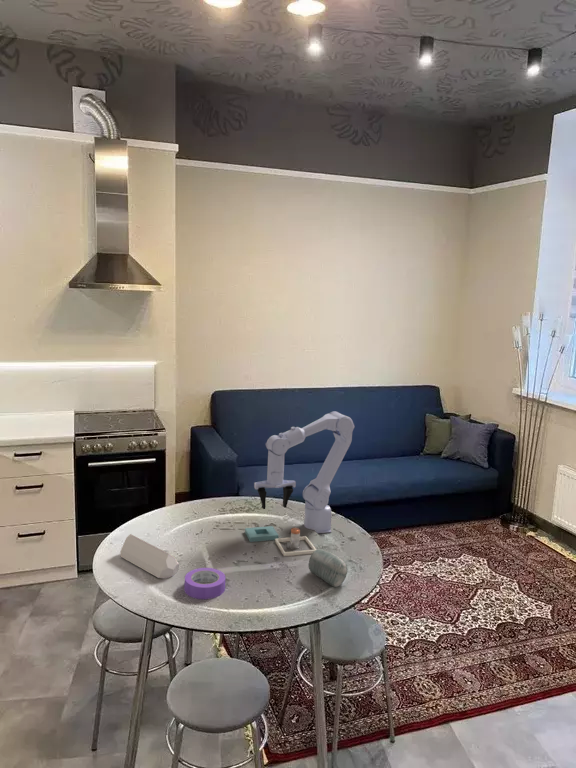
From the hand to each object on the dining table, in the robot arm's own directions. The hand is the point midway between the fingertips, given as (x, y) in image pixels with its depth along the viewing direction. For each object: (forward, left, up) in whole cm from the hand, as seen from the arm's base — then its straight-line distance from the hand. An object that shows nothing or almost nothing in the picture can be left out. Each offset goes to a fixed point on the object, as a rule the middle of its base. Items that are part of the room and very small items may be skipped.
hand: (274, 507), depth 206 cm
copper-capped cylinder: (-4, +14, -10) cm, 17 cm away
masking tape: (+29, +32, -11) cm, 45 cm away
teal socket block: (+5, +3, -10) cm, 12 cm away
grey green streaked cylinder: (-8, +34, -11) cm, 37 cm away
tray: (-4, +14, -10) cm, 18 cm away
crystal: (+44, +14, -11) cm, 47 cm away
